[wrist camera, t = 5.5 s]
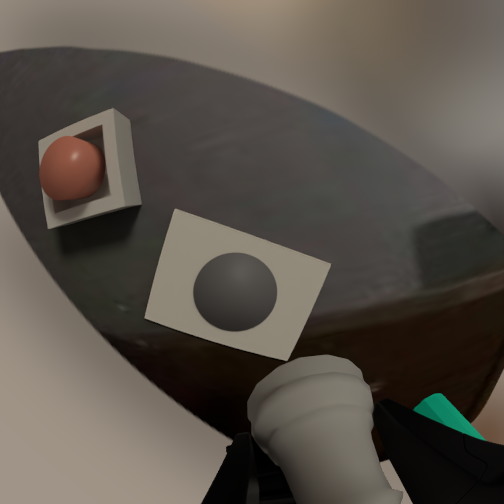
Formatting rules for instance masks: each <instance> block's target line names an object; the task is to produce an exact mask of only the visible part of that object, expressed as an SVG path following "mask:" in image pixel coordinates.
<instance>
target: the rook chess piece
mask: <svg viewBox="0 0 504 504" xmlns="http://www.w3.org/2000/svg"><path fill="white" fill-rule="evenodd" d="M247 406H248V419H249V420H250V421H251V430H252V436H253V438H254V440H255V441H256V443H257V444H258V445H259V447H260V448H261V449H262V450H263V451H264V453H266V454H268V456H269V458H270V459H271V460H272V461H273V462H274V463H275V465H278V466H280V468H281V469H282V471H283V473H284V475H285V478H286V480H287V483H288V485H289V487H290V490H291V492H292V494H293V497H294V499H295V501H296V504H400V503H401V500H402V497H403V492H402V491H398V490H394V489H392V488H391V486H390V484H389V482H388V481H387V479H386V477H385V475H384V473H383V471H382V469H381V466H380V463H379V459H378V456H377V453H376V450H375V447H374V444H373V441H372V437H371V430H372V428H373V425H374V424H373V419H372V413H373V410H374V405H373V400H372V396H371V391H370V387H369V385H368V384H366V383H365V382H364V380H363V376H362V372H361V370H360V369H358V368H357V367H356V366H355V365H354V364H353V363H352V362H351V361H349V360H348V359H344V358H339V357H335V356H331V355H320V356H311V357H302V358H298V359H295V360H293V361H291V362H288V363H286V364H283V365H281V366H279V367H278V368H276V369H275V370H274V371H273V372H271V373H270V374H269V375H268V376H267V377H265V378H264V379H263V380H262V381H260V382H259V383H258V384H257V385H256V387H255V389H254V391H253V392H252V394H251V396H250V398H249V400H248V401H247Z"/></svg>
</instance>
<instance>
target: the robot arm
mask: <svg viewBox="0 0 504 504" xmlns="http://www.w3.org/2000/svg"><path fill="white" fill-rule="evenodd" d="M373 420H374V423H375V426H376V428H377V431H378V433H379V436H380V439H381V441H382V444H383V447H384V449H385V452H386V454H387V456H388V458H389V460H390V461H391V463H392V465H393V467H394V469H395V471H396V473H397V474H398V476H399V478H400V480H401V482H402V484H403V486H404V488H405V490H406V492H407V493H408V495H409V497H410V499H411V501H412V503H413V504H504V445H501V444H496V443H492V442H488V441H485V440H481V439H478V438H476V437H473V436H470V435H468V434H465V433H462V432H460V431H458V430H455V429H453V428H451V427H448V426H446V425H444V424H442V423H439V422H437V421H435V420H433V419H430V418H428V417H426V416H424V415H422V414H420V413H417V412H415V411H413V410H411V409H409V408H407V407H405V406H403V405H401V404H399V403H397V402H395V401H393V400H391V399H388V398H385V399H383V400H380V401H378V402H377V403H376V406H375V411H374V415H373ZM226 452H227V455H226V457H225V459H224V461H223V463H222V465H221V467H220V469H219V471H218V473H217V475H216V477H215V479H214V480H213V482H212V484H211V486H210V488H209V490H208V492H207V494H206V496H205V497H204V499H203V501H202V503H201V504H296V501H295V499H294V497H293V494H292V492H291V490H290V487H289V485H288V483H287V480H286V478H285V475H284V473H283V471H282V469H281V468H280V466H278V465H275V463H274V462H273V461H272V460H271V459H270V458H269V456H268V454H266V453H264V451H263V450H262V449H261V448H260V447H259V445H258V444H257V443H256V442H252V440H251V436H250V433H248V432H245V433H238V434H237V435H236V436H235V438H234V440H233V442H232V444H231V445H230V446H227V447H226Z"/></svg>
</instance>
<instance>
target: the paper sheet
mask: <svg viewBox="0 0 504 504" xmlns="http://www.w3.org/2000/svg"><path fill="white" fill-rule="evenodd" d="M330 266H331V264H330V263H327V262H324V261H322V260H319V259H316V258H314V257H311V256H308V255H305V254H303V253H300V252H297V251H294V250H292V249H289V248H286V247H283V246H280V245H278V244H275V243H272V242H269V241H266V240H264V239H261V238H258V237H255V236H252V235H250V234H247V233H244V232H241V231H238V230H235V229H233V228H230V227H227V226H224V225H221V224H218V223H215V222H213V221H210V220H207V219H204V218H201V217H198V216H195V215H192V214H189V213H186V212H183V211H181V210H178V209H175V210H174V213H173V216H172V219H171V222H170V226H169V229H168V232H167V235H166V239H165V242H164V245H163V249H162V252H161V256H160V259H159V263H158V266H157V270H156V274H155V278H154V281H153V285H152V289H151V293H150V297H149V301H148V305H147V310H146V314H145V318H146V319H148V320H151V321H154V322H156V323H159V324H162V325H165V326H167V327H170V328H173V329H176V330H179V331H182V332H185V333H188V334H191V335H194V336H197V337H200V338H204V339H207V340H210V341H213V342H217V343H220V344H223V345H227V346H230V347H234V348H238V349H241V350H245V351H249V352H252V353H256V354H260V355H264V356H268V357H272V358H277V359H281V360H285V361H287V360H288V358H289V356H290V354H291V352H292V350H293V348H294V346H295V344H296V342H297V340H298V338H299V336H300V334H301V332H302V330H303V328H304V325H305V323H306V321H307V319H308V317H309V315H310V312H311V310H312V308H313V306H314V304H315V301H316V299H317V297H318V294H319V292H320V290H321V288H322V285H323V283H324V280H325V278H326V276H327V273H328V271H329V268H330Z"/></svg>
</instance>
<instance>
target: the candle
mask: <svg viewBox="0 0 504 504" xmlns="http://www.w3.org/2000/svg"><path fill="white" fill-rule="evenodd" d="M413 411H415V412H417V413H420V414H422V415H424V416H426V417H428V418H430V419H433V420H435V421H437V422H439V423H442V424H444V425H446V426H448V427H451V428H453V429H455V430H458V431H460V432H462V433H465V434H468V435H470V436H473V437H476V438H478V439H481V440H485V439H484V438H483V437H482V436H481V435H480V434H479V433H478V432H477V431H476V430H475V429H474V427H473V426H472V425H471V424H470V423H469V422H468V421H467V420H466V419H465V418H464V417H463V416H462V415H461V414H460V412H459V411H458V410H457V409H456V408H455V407H454V406H453V405H452V404H451V403H450V402H449V401H448V400H447V399H446V398H445V397H444V396H443V395H442V394H441V393H439V394H433V395H431V396H429V397H428V398H426V399H424V400H423V401H422V402H421V403H420V404H419V405H418V406H416V407H415V408H414V409H413ZM485 441H486V440H485Z"/></svg>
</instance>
